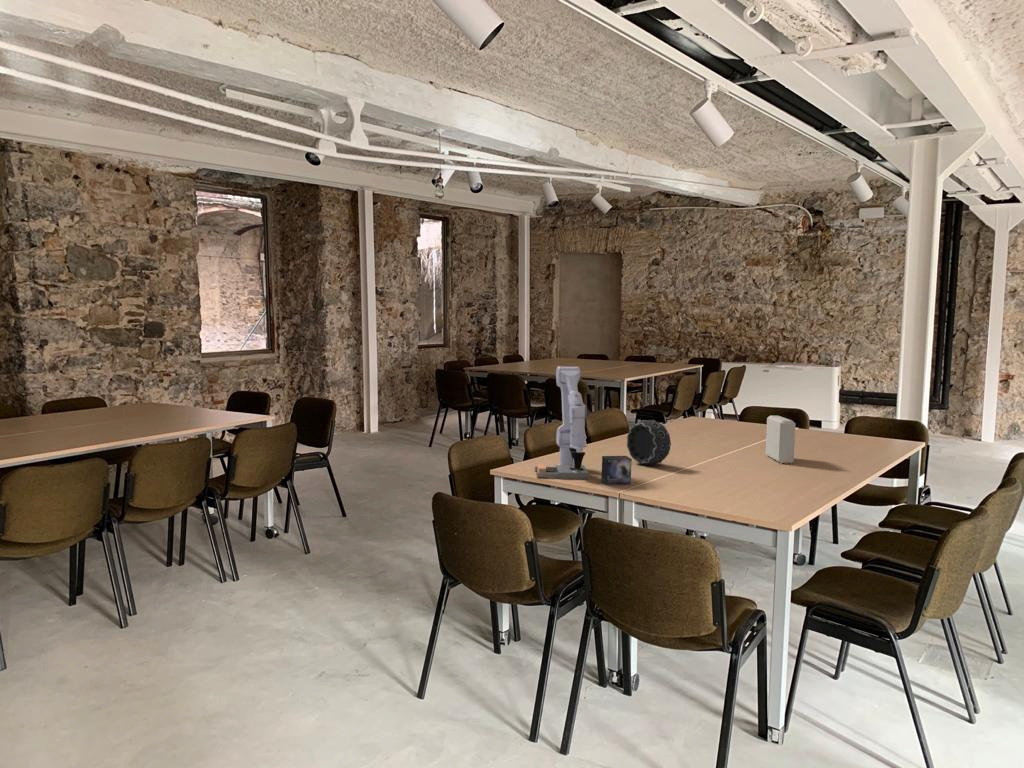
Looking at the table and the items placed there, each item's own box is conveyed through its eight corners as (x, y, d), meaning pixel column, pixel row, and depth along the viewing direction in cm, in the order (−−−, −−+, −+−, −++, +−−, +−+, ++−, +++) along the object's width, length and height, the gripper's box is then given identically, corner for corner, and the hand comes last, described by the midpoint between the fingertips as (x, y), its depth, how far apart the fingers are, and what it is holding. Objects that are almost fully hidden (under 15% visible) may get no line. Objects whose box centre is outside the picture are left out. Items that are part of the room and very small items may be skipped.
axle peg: (572, 474, 313) (572, 457, 313) (580, 474, 314) (580, 457, 313) (573, 475, 310) (573, 459, 309) (582, 475, 310) (582, 459, 310)
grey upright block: (796, 464, 344) (798, 421, 342) (779, 464, 344) (781, 420, 342) (781, 456, 365) (783, 415, 363) (764, 456, 365) (766, 415, 363)
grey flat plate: (534, 470, 319) (534, 464, 319) (583, 471, 320) (583, 465, 320) (536, 478, 303) (536, 472, 303) (588, 479, 304) (588, 472, 304)
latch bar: (537, 472, 316) (537, 463, 316) (544, 472, 316) (544, 463, 316) (538, 476, 306) (538, 468, 306) (546, 477, 306) (546, 468, 306)
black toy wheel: (640, 459, 349) (641, 417, 347) (672, 467, 333) (674, 422, 331) (623, 462, 343) (624, 418, 341) (655, 469, 326) (657, 423, 325)
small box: (605, 485, 293) (606, 458, 292) (600, 481, 299) (601, 455, 299) (631, 484, 295) (632, 458, 294) (625, 481, 301) (626, 455, 301)
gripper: (589, 437, 303) (588, 470, 304) (584, 431, 318) (584, 463, 319) (571, 436, 303) (571, 470, 304) (568, 431, 318) (567, 463, 319)
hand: (576, 466), depth 312 cm, fingers open, 7 cm apart
